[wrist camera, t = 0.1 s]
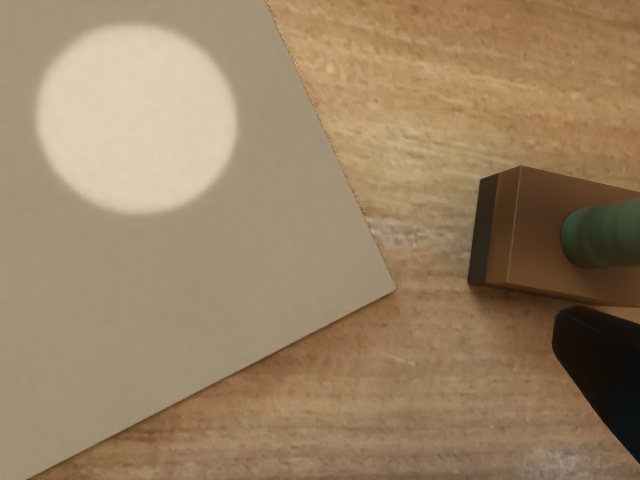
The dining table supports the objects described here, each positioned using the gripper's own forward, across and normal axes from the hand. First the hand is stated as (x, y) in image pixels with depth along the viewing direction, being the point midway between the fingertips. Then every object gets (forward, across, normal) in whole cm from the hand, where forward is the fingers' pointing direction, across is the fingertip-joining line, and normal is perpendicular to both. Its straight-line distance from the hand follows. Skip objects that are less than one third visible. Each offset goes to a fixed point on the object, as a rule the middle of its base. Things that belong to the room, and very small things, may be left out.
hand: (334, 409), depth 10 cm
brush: (+13, -15, +9) cm, 22 cm away
